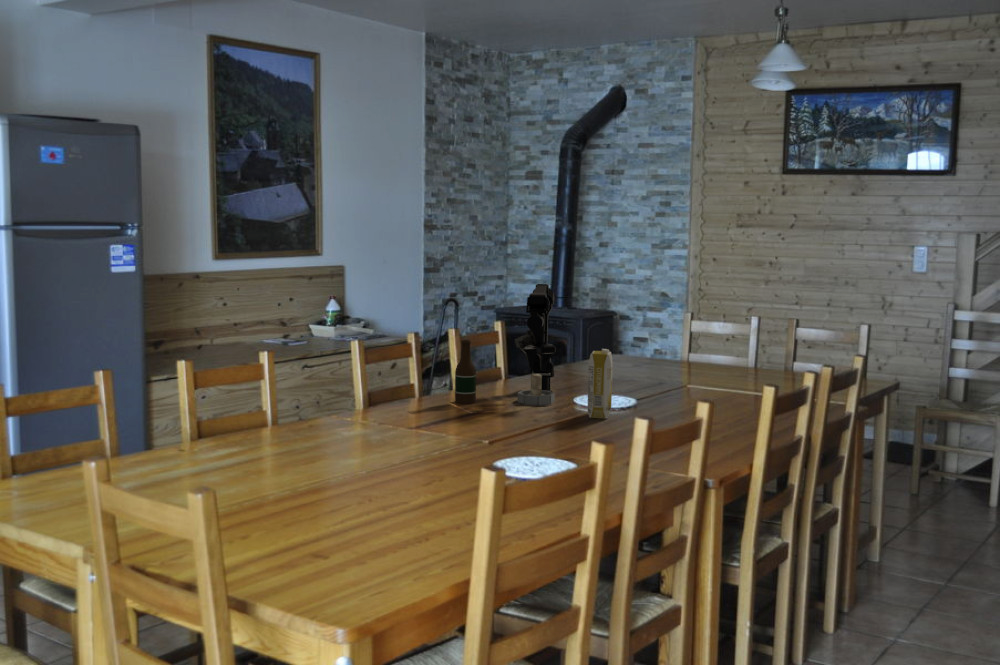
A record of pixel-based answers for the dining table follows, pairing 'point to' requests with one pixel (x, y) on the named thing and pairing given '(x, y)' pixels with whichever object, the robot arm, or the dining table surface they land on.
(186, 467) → the dining table surface
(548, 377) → the robot arm
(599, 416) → the juice carton
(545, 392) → the bowl
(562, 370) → the dining table surface
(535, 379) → the square wooden post
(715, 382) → the dining table surface
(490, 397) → the coaster
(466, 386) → the beer bottle
